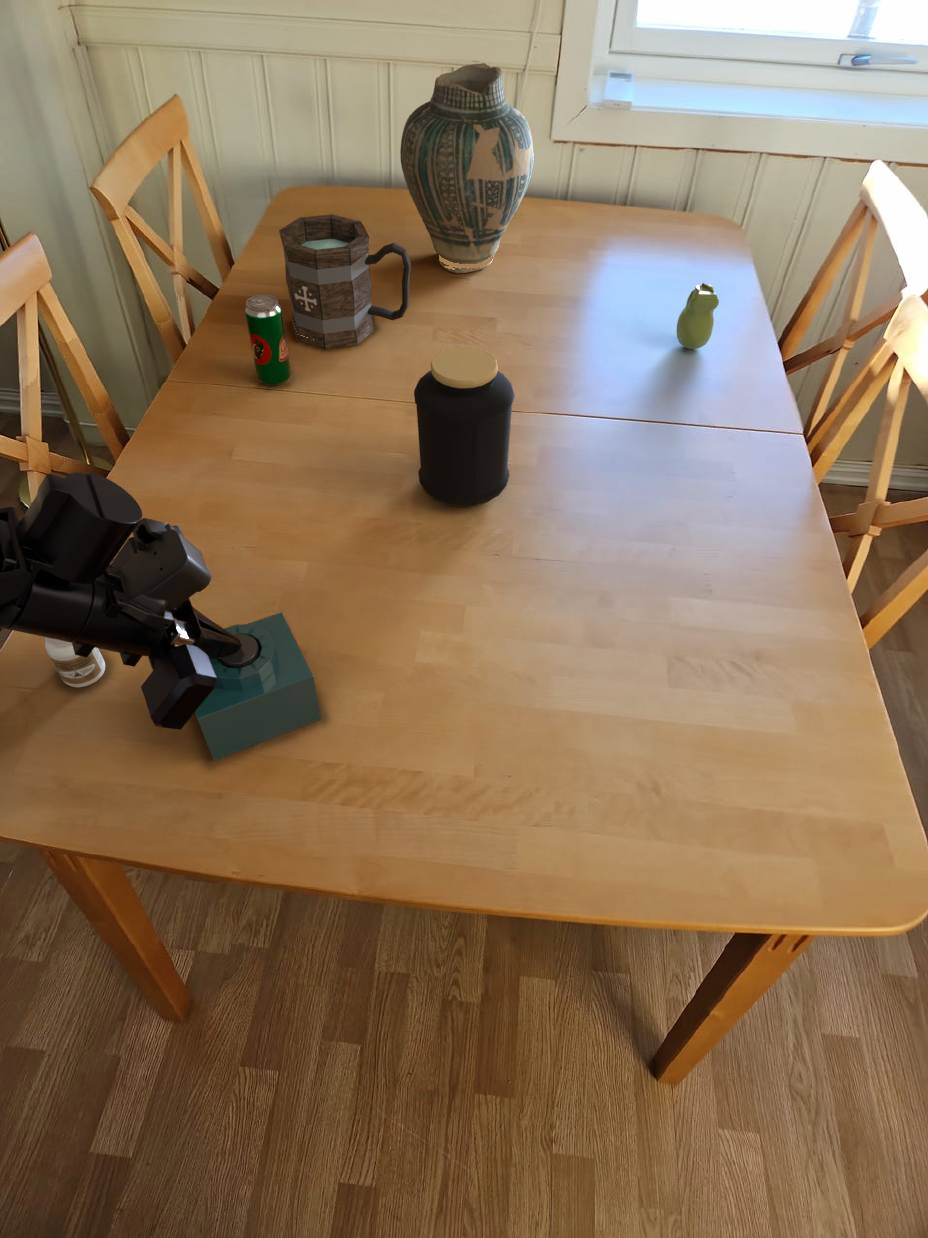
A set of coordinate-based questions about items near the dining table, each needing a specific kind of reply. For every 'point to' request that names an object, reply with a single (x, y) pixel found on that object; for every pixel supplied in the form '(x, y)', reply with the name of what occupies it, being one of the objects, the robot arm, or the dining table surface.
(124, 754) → the dining table surface
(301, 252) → the mug
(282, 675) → the teal push button box
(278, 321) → the soda can
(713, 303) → the pear
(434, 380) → the container
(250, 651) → the dark brown button
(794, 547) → the dining table surface
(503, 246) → the dining table surface
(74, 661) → the pill bottle
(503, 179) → the vase
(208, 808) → the dining table surface
